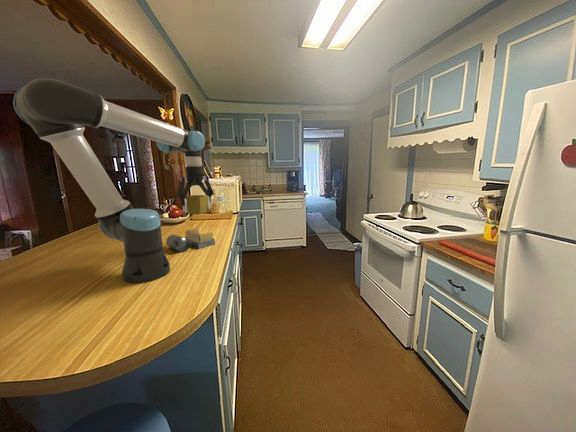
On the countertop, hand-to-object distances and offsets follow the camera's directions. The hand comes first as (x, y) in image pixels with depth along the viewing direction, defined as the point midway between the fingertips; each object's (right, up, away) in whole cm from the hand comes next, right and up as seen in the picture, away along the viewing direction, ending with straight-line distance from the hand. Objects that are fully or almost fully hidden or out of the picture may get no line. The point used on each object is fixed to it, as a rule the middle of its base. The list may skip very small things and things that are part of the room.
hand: (197, 210), depth 117 cm
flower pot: (0, -2, 0) cm, 2 cm away
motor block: (-3, -18, 0) cm, 18 cm away
